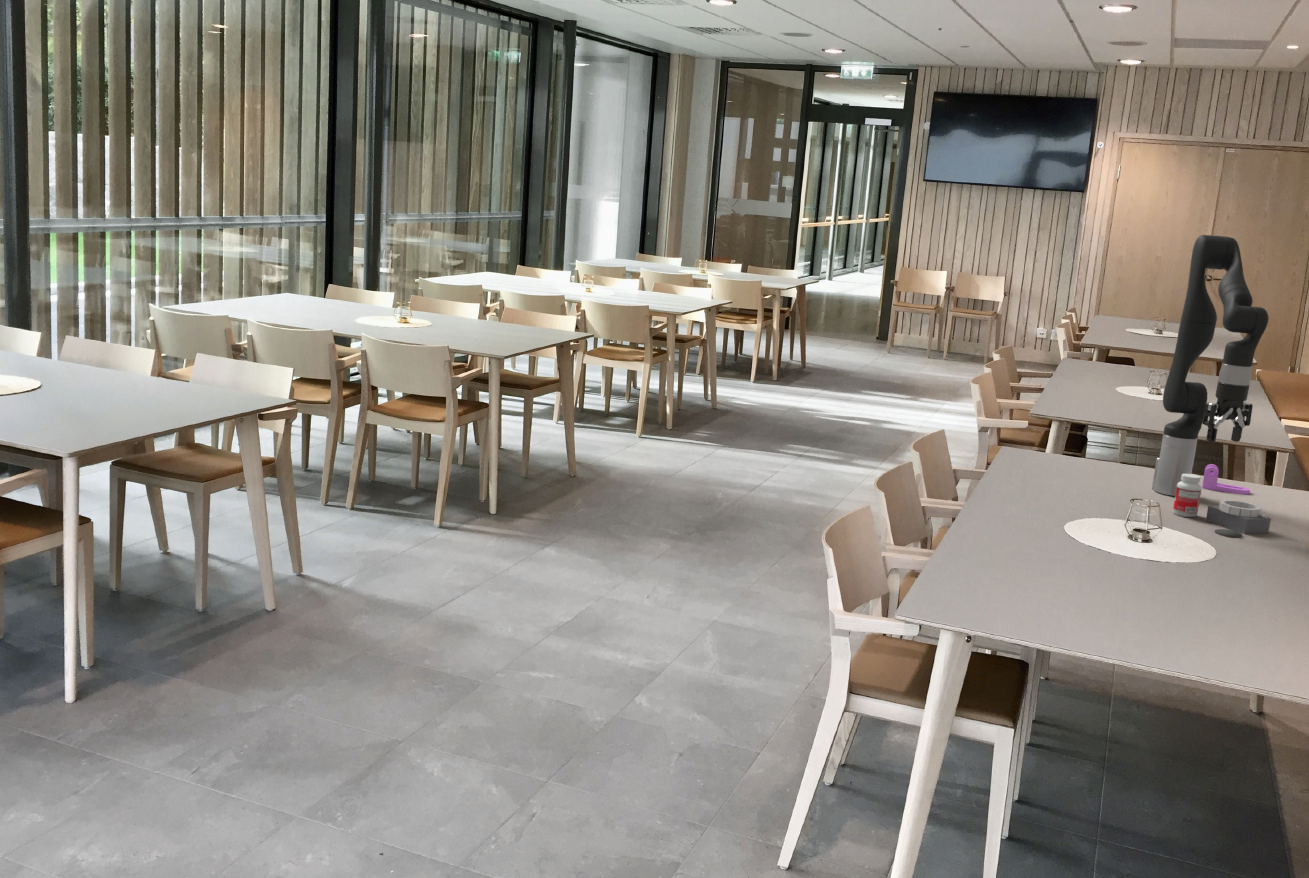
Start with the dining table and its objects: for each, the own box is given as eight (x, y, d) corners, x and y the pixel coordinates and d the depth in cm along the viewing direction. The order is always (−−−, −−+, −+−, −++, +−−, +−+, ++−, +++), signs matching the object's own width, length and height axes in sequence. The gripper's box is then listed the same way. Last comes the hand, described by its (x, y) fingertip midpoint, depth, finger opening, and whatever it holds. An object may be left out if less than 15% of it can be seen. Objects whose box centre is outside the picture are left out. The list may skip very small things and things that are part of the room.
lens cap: (1208, 532, 293) (1209, 529, 293) (1227, 531, 295) (1228, 528, 295) (1228, 539, 287) (1228, 536, 287) (1247, 538, 289) (1248, 535, 289)
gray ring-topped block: (1203, 520, 304) (1207, 498, 303) (1231, 519, 307) (1234, 497, 306) (1242, 534, 292) (1246, 511, 291) (1270, 532, 295) (1274, 510, 294)
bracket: (1202, 488, 344) (1205, 466, 342) (1202, 485, 349) (1206, 463, 347) (1249, 495, 338) (1253, 473, 337) (1249, 492, 343) (1253, 470, 342)
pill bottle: (1178, 510, 313) (1185, 471, 311) (1200, 516, 308) (1207, 476, 306) (1168, 513, 309) (1174, 474, 307) (1190, 518, 304) (1197, 479, 302)
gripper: (1242, 379, 303) (1231, 438, 307) (1202, 379, 298) (1191, 438, 302) (1265, 384, 297) (1254, 444, 300) (1224, 384, 292) (1213, 445, 295)
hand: (1222, 441), depth 301 cm, fingers open, 8 cm apart
